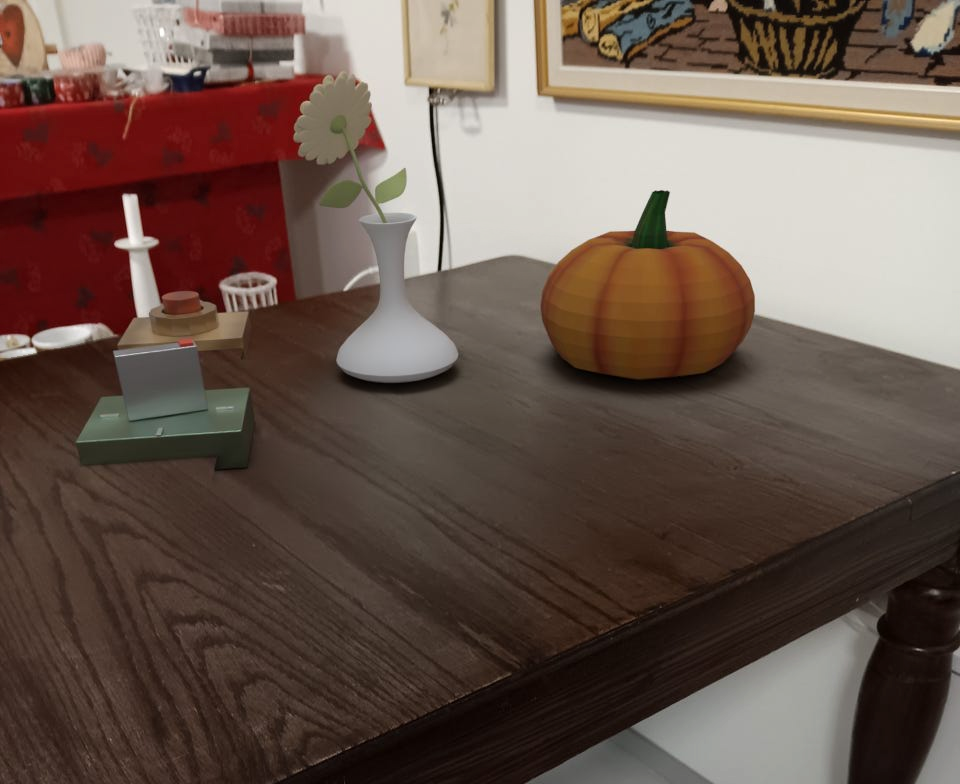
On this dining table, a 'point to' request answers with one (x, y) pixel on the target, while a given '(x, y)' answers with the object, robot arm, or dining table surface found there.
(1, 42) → the robot arm
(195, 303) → the button
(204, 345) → the button block
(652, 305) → the pumpkin
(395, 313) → the flower in vase
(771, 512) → the dining table surface
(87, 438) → the panel
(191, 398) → the grey panel
